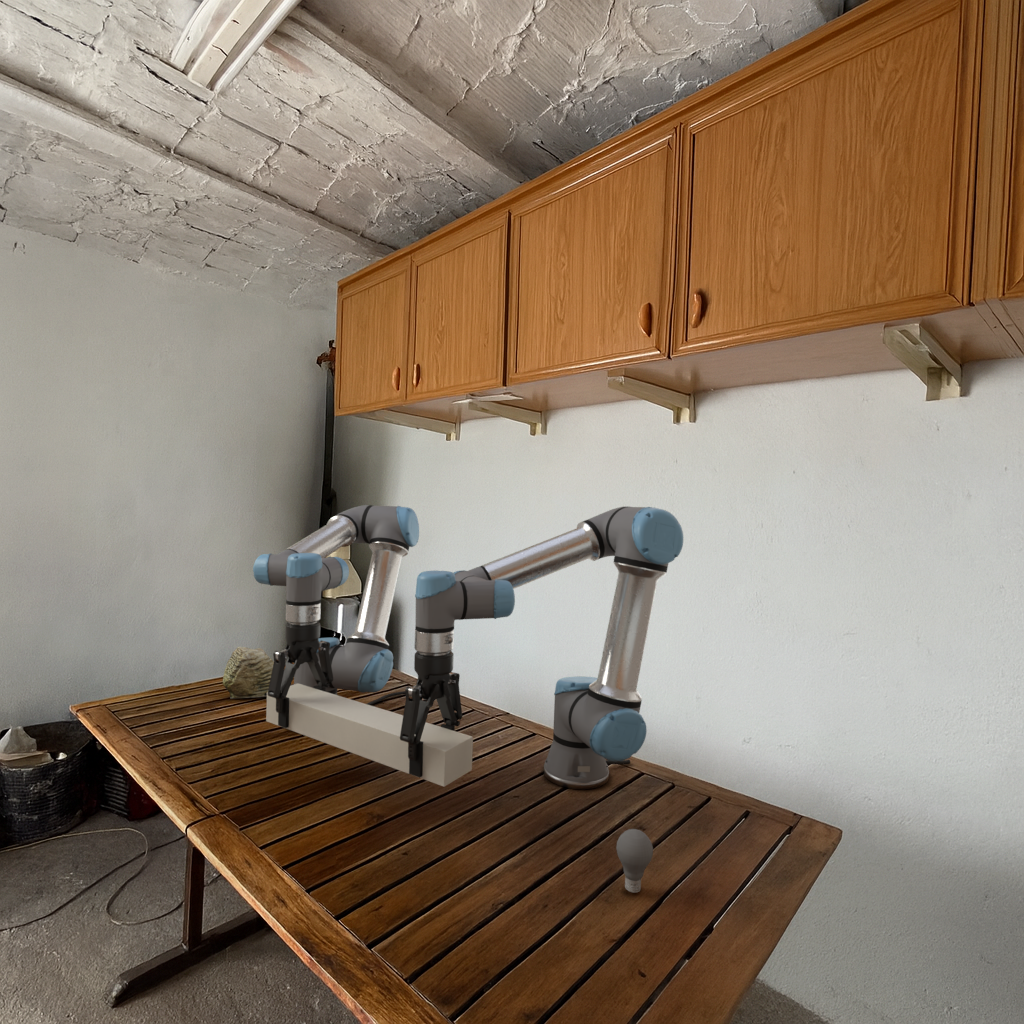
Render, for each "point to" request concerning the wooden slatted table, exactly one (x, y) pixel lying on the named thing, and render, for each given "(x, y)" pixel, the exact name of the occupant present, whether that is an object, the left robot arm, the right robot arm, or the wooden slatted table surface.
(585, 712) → the right robot arm
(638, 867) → the light bulb
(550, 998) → the wooden slatted table surface
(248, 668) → the fossil
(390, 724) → the thick board
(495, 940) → the wooden slatted table surface
